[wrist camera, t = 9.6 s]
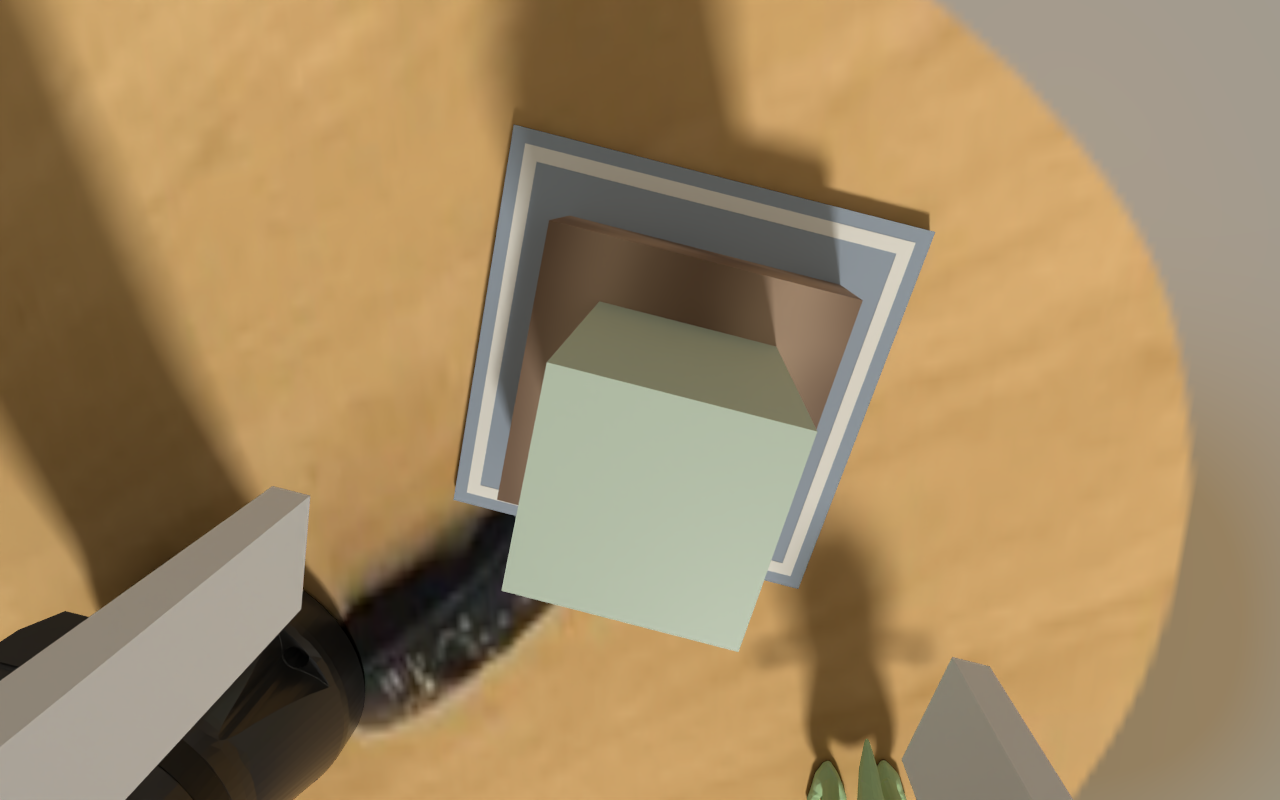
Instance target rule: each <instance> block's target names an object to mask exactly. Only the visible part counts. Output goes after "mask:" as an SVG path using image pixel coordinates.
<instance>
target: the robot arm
mask: <svg viewBox="0 0 1280 800" xmlns="http://www.w3.org/2000/svg"><path fill="white" fill-rule="evenodd" d="M309 504H310V495H306V494H302V493H298V492H294V491H290V490H286V489H282V488H278V487H274V486H272V487H271V488H269V489H268V490H266V491H265V492H264V493H262V494H261V495H259V496H258V497H257V498H255V499H254V500H252V501H251V502H250V503H248V504H247V505H245V506H244V507H243V508H241V509H240V510H238V511H237V512H236V513H234V514H233V515H231V516H230V517H229V518H227V519H226V520H224V521H223V522H222V523H220V524H219V525H217V526H216V527H215V528H213V529H212V530H210V531H209V532H208V533H206V534H205V535H203V536H202V537H201V538H199V539H198V540H196V541H195V542H194V543H192V544H191V545H189V546H188V547H187V548H185V549H184V550H182V551H181V552H180V553H178V554H177V555H175V556H174V557H173V558H171V559H170V560H168V561H167V562H166V563H164V564H163V565H161V566H160V567H159V568H157V569H156V570H154V571H153V572H152V573H150V574H148V575H147V576H146V577H144V578H143V579H141V580H140V581H139V582H137V583H136V584H134V585H133V586H132V587H130V588H129V589H127V590H126V591H125V592H123V593H122V594H120V595H119V596H118V597H116V598H115V599H114V600H112V601H111V602H110V603H108V604H107V605H105V606H104V607H103V608H101V609H100V610H98V611H97V612H96V613H94V614H93V615H91V616H90V617H86V616H82V615H78V614H74V613H70V612H66V611H65V612H62V613H60V614H57V615H55V616H52V617H50V618H47V619H45V620H42V621H40V622H37V623H35V624H32V625H30V626H27V627H25V628H22V629H20V630H18V631H16V632H15V633H13V634H12V635H10V636H9V637H7V638H6V639H4V640H3V641H1V642H0V800H293V799H295V798H296V797H297V796H298V795H299V794H300V793H302V792H303V791H304V790H305V789H306V788H307V787H309V786H310V785H311V784H312V783H313V782H315V781H316V780H317V779H318V778H319V777H320V776H322V775H323V774H324V773H325V772H326V771H327V769H328V768H329V767H330V766H331V765H332V764H333V762H334V761H335V760H336V758H337V757H338V755H339V754H340V752H341V751H342V749H343V747H344V746H345V744H346V743H347V741H348V740H349V738H350V737H351V735H352V733H353V732H354V730H355V729H356V727H357V725H358V723H359V720H360V718H361V715H362V711H363V706H364V698H365V686H364V678H363V673H362V669H361V665H360V662H359V659H358V657H357V654H356V652H355V650H354V648H353V646H352V644H351V642H350V640H349V639H348V637H347V635H346V634H345V632H344V631H343V629H342V628H341V627H340V625H339V624H338V623H337V622H336V620H335V619H334V618H333V617H332V616H331V615H330V614H329V613H328V611H327V610H326V609H325V608H324V607H322V606H321V605H320V604H319V603H318V602H317V601H316V600H315V599H313V598H312V597H311V596H310V595H308V594H307V593H306V592H304V591H303V580H304V567H305V554H306V542H307V529H308V517H309ZM902 762H903V764H904V767H905V770H906V772H907V775H908V778H909V780H910V783H911V786H912V789H913V791H914V794H915V797H916V799H917V800H1073V799H1072V797H1071V796H1070V794H1069V792H1068V791H1067V789H1066V788H1065V786H1064V784H1063V783H1062V781H1061V780H1060V778H1059V776H1058V775H1057V773H1056V772H1055V770H1054V768H1053V767H1052V765H1051V764H1050V762H1049V760H1048V759H1047V757H1046V756H1045V754H1044V752H1043V751H1042V749H1041V748H1040V746H1039V745H1038V743H1037V741H1036V740H1035V738H1034V737H1033V735H1032V733H1031V732H1030V730H1029V729H1028V727H1027V725H1026V724H1025V722H1024V721H1023V719H1022V717H1021V716H1020V714H1019V713H1018V711H1017V709H1016V708H1015V706H1014V705H1013V703H1012V701H1011V700H1010V698H1009V697H1008V695H1007V693H1006V692H1005V690H1004V689H1003V687H1002V685H1001V684H1000V682H999V681H998V679H997V678H996V676H995V674H994V673H993V671H992V670H991V668H990V666H986V665H982V664H978V663H974V662H970V661H966V660H962V659H958V658H954V657H952V659H951V661H950V663H949V665H948V667H947V669H946V671H945V673H944V675H943V677H942V679H941V681H940V683H939V685H938V687H937V689H936V691H935V693H934V695H933V697H932V699H931V701H930V703H929V705H928V707H927V709H926V711H925V713H924V715H923V717H922V719H921V721H920V723H919V725H918V727H917V729H916V731H915V733H914V735H913V737H912V739H911V742H910V744H909V746H908V748H907V750H906V752H905V754H904V756H903V758H902Z"/></svg>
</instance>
